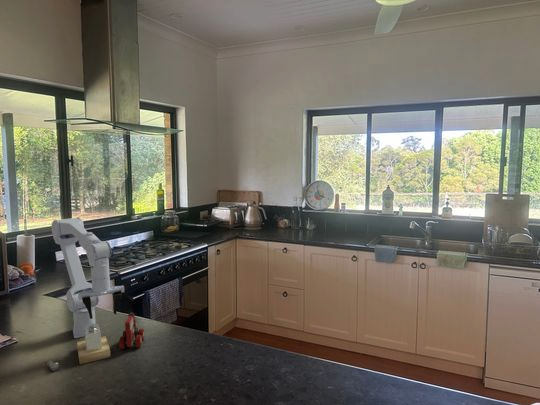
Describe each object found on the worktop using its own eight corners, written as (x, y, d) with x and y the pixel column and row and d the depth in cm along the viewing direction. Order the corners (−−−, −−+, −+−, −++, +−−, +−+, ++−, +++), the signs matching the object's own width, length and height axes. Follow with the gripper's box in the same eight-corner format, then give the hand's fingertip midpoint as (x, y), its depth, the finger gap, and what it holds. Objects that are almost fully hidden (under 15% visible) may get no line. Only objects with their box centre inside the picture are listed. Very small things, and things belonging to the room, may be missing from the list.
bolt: (45, 367, 119) (45, 360, 119) (54, 364, 121) (53, 357, 121) (51, 372, 116) (51, 365, 116) (60, 369, 118) (59, 361, 118)
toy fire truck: (145, 335, 141) (144, 308, 140) (139, 351, 129) (138, 321, 128) (125, 337, 140) (124, 309, 139) (118, 353, 128) (116, 323, 127)
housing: (84, 342, 130) (83, 323, 130) (99, 339, 133) (97, 321, 132) (86, 352, 123) (85, 332, 123) (101, 349, 126) (100, 329, 125)
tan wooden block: (77, 348, 131) (76, 341, 131) (105, 342, 136) (105, 335, 136) (79, 364, 121) (79, 356, 121) (110, 356, 125) (110, 349, 125)
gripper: (78, 283, 125) (80, 324, 126) (124, 276, 132) (127, 314, 134) (76, 278, 131) (79, 317, 132) (121, 272, 138) (123, 308, 140)
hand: (103, 315), depth 133 cm, fingers open, 7 cm apart
